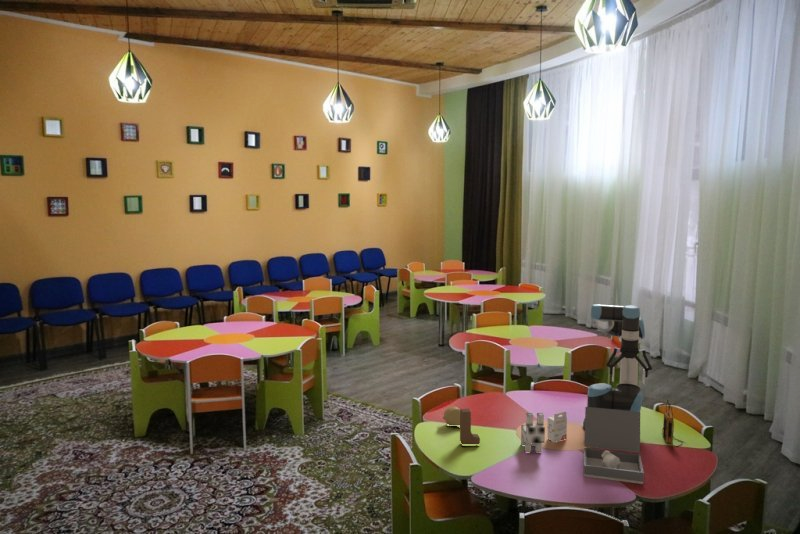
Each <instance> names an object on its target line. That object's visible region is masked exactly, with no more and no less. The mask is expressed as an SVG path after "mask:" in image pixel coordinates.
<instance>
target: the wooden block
mask: <svg viewBox="0 0 800 534" xmlns="http://www.w3.org/2000/svg"><path fill="white" fill-rule="evenodd" d="M459 409H460V428H459V442H460V441H461V443H462V444H479V443H481V439H480V436H479V434H478V433H473V432H472V430H471V429H472V415H471V414H472V411H471V410H470V409H469V408H459Z"/></svg>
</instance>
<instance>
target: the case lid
mask: <svg viewBox="0 0 800 534" xmlns="http://www.w3.org/2000/svg"><path fill="white" fill-rule="evenodd" d="M584 408H585V409H584V411H585V412H584V413H585V414H584V415H585V417H584V419H585V429H584V440H583V441H584V443H583V444H584V445H583V446H584V448H593V449H602V450H610V451H619V452H627V453H636V454H640V453H641V411H640V412H634V411H624V410H614V409H603V408H593V407H587V406H585V407H584Z"/></svg>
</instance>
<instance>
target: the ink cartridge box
mask: <svg viewBox="0 0 800 534" xmlns="http://www.w3.org/2000/svg"><path fill="white" fill-rule="evenodd" d="M567 426H568V415H567V411H563V412H559V413H554V414H553V416H548V417H547V438H548V439H549V440H551V441H553V442H556V441H559V442H561V441H560V440H563V441H565V440H564V439H566V440H567V437H568V435H567V434H568V433H567V431H568V429H567V428H568V427H567ZM549 440H548V441H549ZM551 441H550V442H551ZM553 442H552V443H553ZM556 443H557V442H556Z"/></svg>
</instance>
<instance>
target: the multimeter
mask: <svg viewBox="0 0 800 534" xmlns="http://www.w3.org/2000/svg"><path fill="white" fill-rule="evenodd" d="M667 406H668V409H665V412H664V413H663V428H662V430H661V434H662V438H663V439H664V441H665V443H670V444H671V445H672V446H674V447H676V448H677V447H680V446H682V445H683V443H685V444H687V442H685V441H684V440H681V439H677V438H675V437H674V431H675V430H674V429H675V428H674V427H675V425H674V423H675V422H674V415H673V412H670V408H671V411H673V408H672V404H671V403H669V400H668V399H667V400H666V405H665V408H667ZM674 440H676V441H679V442H680V444H679V445H674V442H673V441H674Z"/></svg>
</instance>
